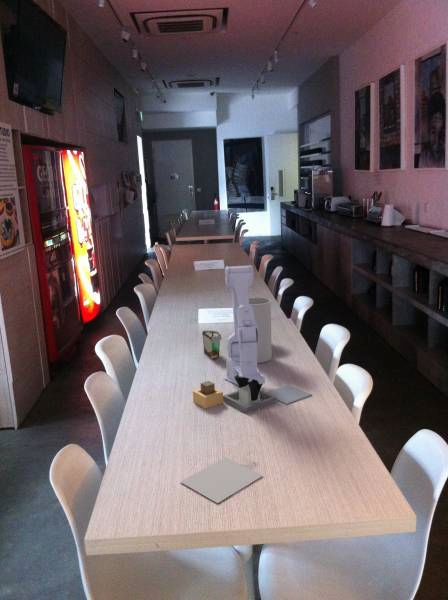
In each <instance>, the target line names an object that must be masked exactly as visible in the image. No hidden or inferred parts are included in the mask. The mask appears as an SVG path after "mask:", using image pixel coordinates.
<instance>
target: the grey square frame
mask: <svg viewBox="0 0 448 600" xmlns="http://www.w3.org/2000/svg"><path fill="white" fill-rule="evenodd" d="M266 392H267V391H264V390H262V389H260V398H262V399H263V400H260V402H257V403H254V404H251V405H248V406H247V405H245V404H243V403H241V402H239V400H236V399H239V390H236V391H233V392H230V393H227V394H223V403H225V404H227V405H230V406H232V407H234V408H236V409H238V410H239V411H241V412H243V413H245V414H249V413H252V412H254V411H257V410H259V408H260V409H262V407H263V408H265V406H266V407H268V406H270V405H274V404H276V403H277V400H276V397H275V396H272V395H270V394H268V393H266Z"/></svg>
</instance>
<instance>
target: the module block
mask: <svg viewBox="0 0 448 600" xmlns="http://www.w3.org/2000/svg"><path fill="white" fill-rule="evenodd" d="M238 391H239V397H238V402H240V403H242V404H244V405H246V406H248V405H251V404H254V403H257V402H260V401H261V400H260V398H261V397H260V391H259V395H258V399H257V400H255V401H252V400H251V393H250V388H249V385H247V386H244V387H241V388H239V387H238Z"/></svg>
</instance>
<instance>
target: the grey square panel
mask: <svg viewBox="0 0 448 600" xmlns="http://www.w3.org/2000/svg"><path fill="white" fill-rule="evenodd" d="M263 476H264V474H262V473H259V472H257V471H255V470H252V469H251V468H249V467H247V466H246V465H245V466H244V465H243V464H241V463H239V462H236V461H234V460H232V459H230V458H228V457H224V458H222V459H219V460H218V461H216V462H214V463H211V465H208V466H206V467H205V468H203V469H201V470H199V471H197V472H195V473H194V474H192V475H190V476H188V477H186V478H185V479H182V480H180V483H182V484H183V485H184V486H186V487H188V488H190V489H192V490H193V491H195V492H197V493H199V494H200V495H202V496H204V497H205V498H207V499H209V500H211V501H213V502H214V503H216V504H218V503H220V502H222V501H223V500H226V499H227V498H229V497H230V496H232V495H234V494H235V493H237V492H238V491H240V490H242V489H243V488H245V487H247V486H248V485H250V484H252V483H253V482H254V481H257V480H258V479H260V478H261V477H263Z"/></svg>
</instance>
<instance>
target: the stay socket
mask: <svg viewBox="0 0 448 600" xmlns="http://www.w3.org/2000/svg"><path fill="white" fill-rule="evenodd" d="M223 395H224V392H223V391H221V390H220V389H218V388H216V387H215V393H213V394H209V395H204V394H202V393H201V388H198V389H195V390H193V391H192V401H193V403H195V404H196V405H199V406H200V407H202V408H203V409H209V408H211V407H215V406H218V405H220V404H223V403H224V401H223Z"/></svg>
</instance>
